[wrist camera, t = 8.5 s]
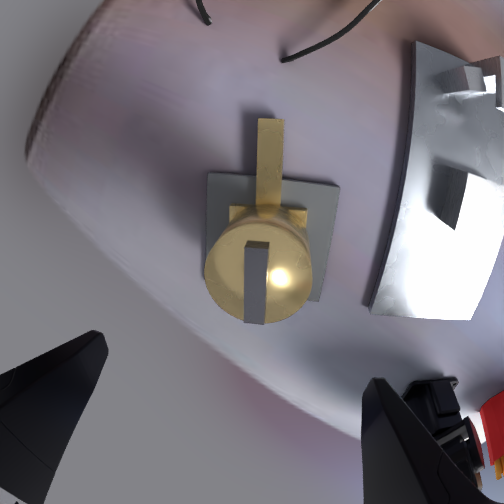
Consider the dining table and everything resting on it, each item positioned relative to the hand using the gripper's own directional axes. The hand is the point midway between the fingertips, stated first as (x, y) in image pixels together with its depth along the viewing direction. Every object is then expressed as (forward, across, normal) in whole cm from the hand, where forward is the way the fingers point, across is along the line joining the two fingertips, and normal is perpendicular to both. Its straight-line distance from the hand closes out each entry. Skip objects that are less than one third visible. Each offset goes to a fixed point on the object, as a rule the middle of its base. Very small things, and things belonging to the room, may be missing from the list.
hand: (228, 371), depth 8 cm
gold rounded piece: (+11, 0, -2) cm, 11 cm away
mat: (+11, 0, 0) cm, 11 cm away
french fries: (+12, -36, +19) cm, 43 cm away
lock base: (+11, -13, -5) cm, 18 cm away
